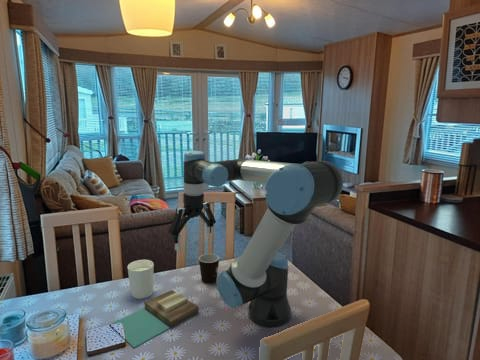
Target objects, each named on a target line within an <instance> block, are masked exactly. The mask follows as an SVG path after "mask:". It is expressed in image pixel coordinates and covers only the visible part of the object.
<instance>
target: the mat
mask: <svg viewBox="0 0 480 360" xmlns="http://www.w3.org/2000/svg"><path fill="white" fill-rule="evenodd" d="M117 323H121V324H123V326H124V329H125V337H126V340H125V342H127V344H129V345H130V346H131V347H132V348H134V349H136V348H137V347H139V346H141V345H143V344H144V343H146V342H148V341H150V340H151V339H154V338H155V337H157V336H159V335H160V334H163V333H164V332H166V331H168V330H169V329H171V328H170V327H169V326H168V325H166V324H165V323H164V322H162V321H161V320H159V319H158V318H157V317H155V316H154V315H153V314H151V313H150V312H149V311H147V310H146V309H145V307H144V308H140V309H139V310H137V311H135V312H132V313H131V314H128V315H126V316H124V317H122V318H119V319H117V320H115V321H113V322H111V323H110V324H108V325H111V324H117Z"/></svg>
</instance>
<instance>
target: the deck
mask: <svg viewBox="0 0 480 360" xmlns="http://www.w3.org/2000/svg"><path fill="white" fill-rule="evenodd" d="M174 293H177V291H174V290H173V289H170V290H168V291H167V292H164V293H162V294H160V295H158V296H155V297H154V298H150V299H149V300H147V301H145V302H143V303H144V309H145V310H147V311H148V312H149V313H151V314H152V315H153V316H155V317H156V318H157V319H159V320H160V321H161V322H163V323H164V324H165V325H167V326H168V327H169V328H170V329H171V328H173V327H175V326H177V325H178V324H181V323H182V322H184V321H186V320H188V319H189V318H191V317H193V316H195V315H197V314H199V305H197V304H195V303H194V302H192V301H191V300H189V299H187V302H186V303H184V304H182V305H181V306H179V307H177V308H175V309H173V310H171V311H169V312H165V311H164V310H163V309H161V308H160V307H158V306H157V302H158V301H160V300H162V299H164V298H166V297H168V296H170V295H172V294H174Z"/></svg>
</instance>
